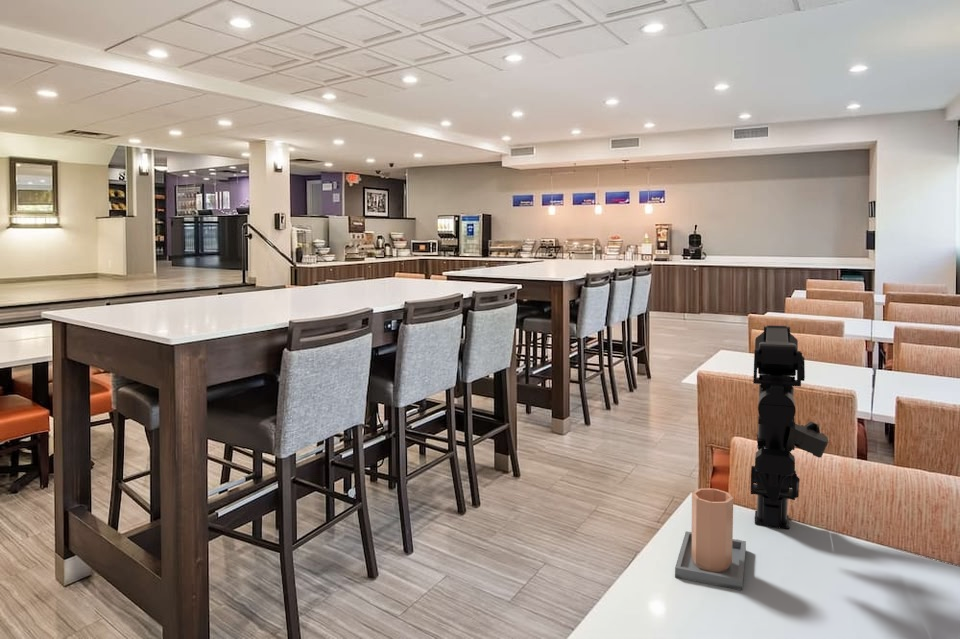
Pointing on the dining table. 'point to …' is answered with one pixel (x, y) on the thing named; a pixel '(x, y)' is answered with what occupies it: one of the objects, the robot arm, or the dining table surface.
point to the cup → (712, 530)
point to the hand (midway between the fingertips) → (773, 492)
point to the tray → (725, 579)
